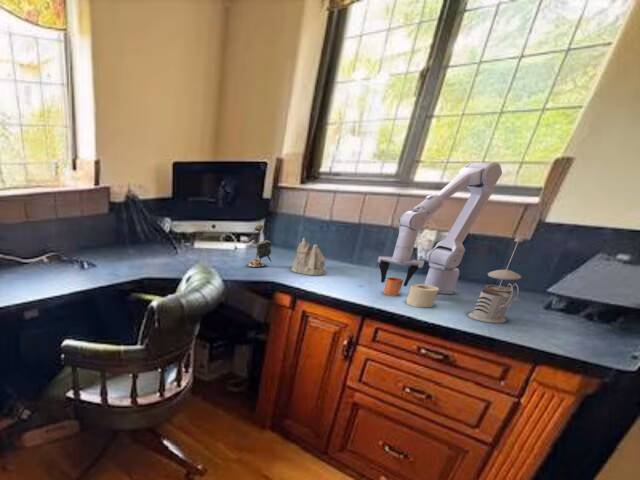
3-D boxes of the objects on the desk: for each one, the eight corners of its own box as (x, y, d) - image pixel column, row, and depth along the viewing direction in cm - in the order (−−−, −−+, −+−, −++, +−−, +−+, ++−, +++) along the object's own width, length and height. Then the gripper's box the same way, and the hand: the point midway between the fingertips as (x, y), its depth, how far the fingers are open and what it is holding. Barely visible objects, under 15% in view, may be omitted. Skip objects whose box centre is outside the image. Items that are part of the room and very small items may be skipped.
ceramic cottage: (315, 276, 183) (322, 240, 177) (283, 270, 195) (289, 237, 189) (335, 272, 192) (342, 238, 185) (303, 267, 204) (309, 235, 197)
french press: (491, 312, 140) (524, 234, 128) (518, 324, 130) (556, 241, 118) (461, 312, 140) (490, 234, 128) (485, 325, 130) (520, 241, 118)
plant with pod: (269, 268, 198) (275, 223, 188) (245, 267, 202) (250, 223, 192) (271, 264, 204) (277, 221, 195) (247, 263, 208) (252, 220, 199)
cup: (397, 292, 162) (401, 277, 159) (400, 296, 157) (404, 281, 155) (382, 291, 163) (386, 277, 161) (384, 295, 159) (388, 280, 156)
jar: (429, 301, 151) (435, 284, 148) (436, 308, 145) (442, 291, 142) (403, 299, 154) (408, 283, 151) (409, 306, 147) (414, 289, 144)
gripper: (379, 246, 154) (369, 282, 160) (425, 251, 145) (412, 289, 152) (385, 243, 158) (375, 278, 165) (429, 247, 149) (417, 285, 156)
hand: (393, 283), depth 158 cm, fingers open, 7 cm apart
